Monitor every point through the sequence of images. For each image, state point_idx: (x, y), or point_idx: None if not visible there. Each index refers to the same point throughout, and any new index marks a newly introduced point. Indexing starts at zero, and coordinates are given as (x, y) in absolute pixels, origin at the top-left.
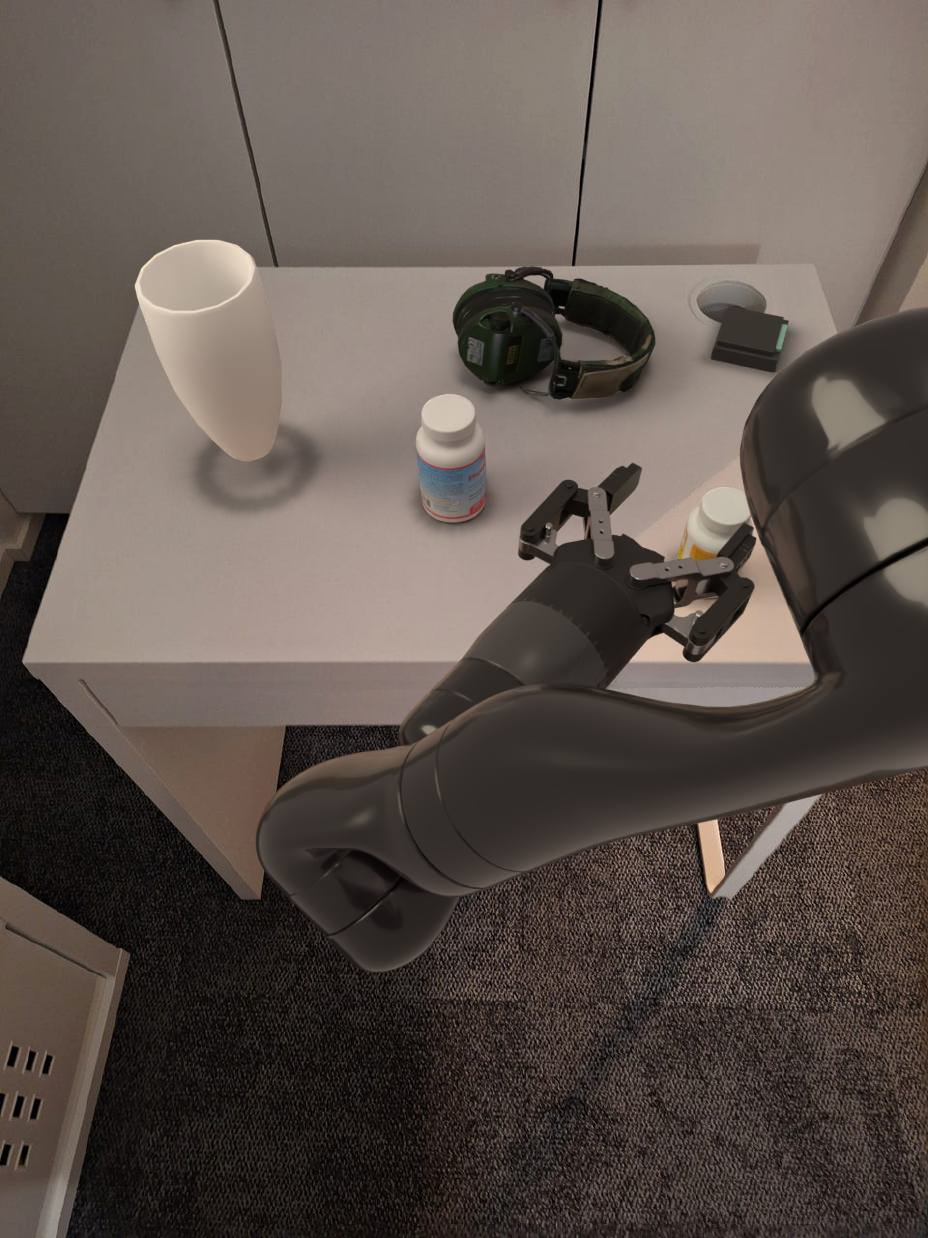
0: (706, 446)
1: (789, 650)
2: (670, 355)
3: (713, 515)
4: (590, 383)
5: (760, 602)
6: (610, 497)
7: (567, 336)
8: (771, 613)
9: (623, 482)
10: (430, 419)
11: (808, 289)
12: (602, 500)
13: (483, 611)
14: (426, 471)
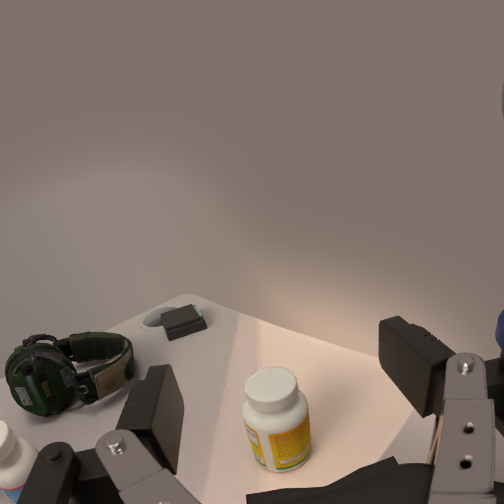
0: (203, 380)
1: (386, 442)
2: (146, 351)
3: (269, 397)
4: (103, 381)
5: (335, 435)
6: (150, 437)
7: (83, 371)
8: (349, 434)
9: (155, 398)
10: None
11: (192, 295)
12: (135, 452)
13: None
14: (8, 495)
